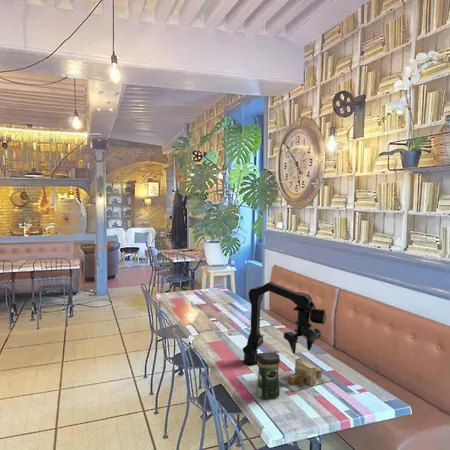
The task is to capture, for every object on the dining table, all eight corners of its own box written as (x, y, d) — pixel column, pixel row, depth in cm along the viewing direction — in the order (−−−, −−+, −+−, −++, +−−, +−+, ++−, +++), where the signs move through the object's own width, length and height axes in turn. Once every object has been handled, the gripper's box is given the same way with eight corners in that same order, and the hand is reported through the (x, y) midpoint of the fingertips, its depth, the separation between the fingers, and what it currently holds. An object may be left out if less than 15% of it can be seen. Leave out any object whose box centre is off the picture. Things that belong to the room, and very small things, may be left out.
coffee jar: (273, 389, 165) (275, 348, 164) (281, 398, 158) (283, 355, 157) (253, 392, 163) (255, 350, 162) (260, 401, 155) (262, 357, 154)
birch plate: (310, 385, 169) (311, 368, 169) (294, 375, 179) (295, 359, 178) (315, 384, 171) (316, 367, 170) (299, 374, 180) (300, 358, 180)
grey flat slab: (293, 392, 164) (293, 383, 163) (276, 380, 174) (277, 372, 174) (332, 380, 176) (333, 372, 175) (314, 370, 186) (315, 362, 186)
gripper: (299, 328, 167) (297, 361, 168) (329, 323, 176) (327, 355, 177) (283, 320, 177) (282, 352, 178) (313, 316, 186) (311, 346, 187)
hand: (301, 352), depth 179 cm, fingers open, 9 cm apart
